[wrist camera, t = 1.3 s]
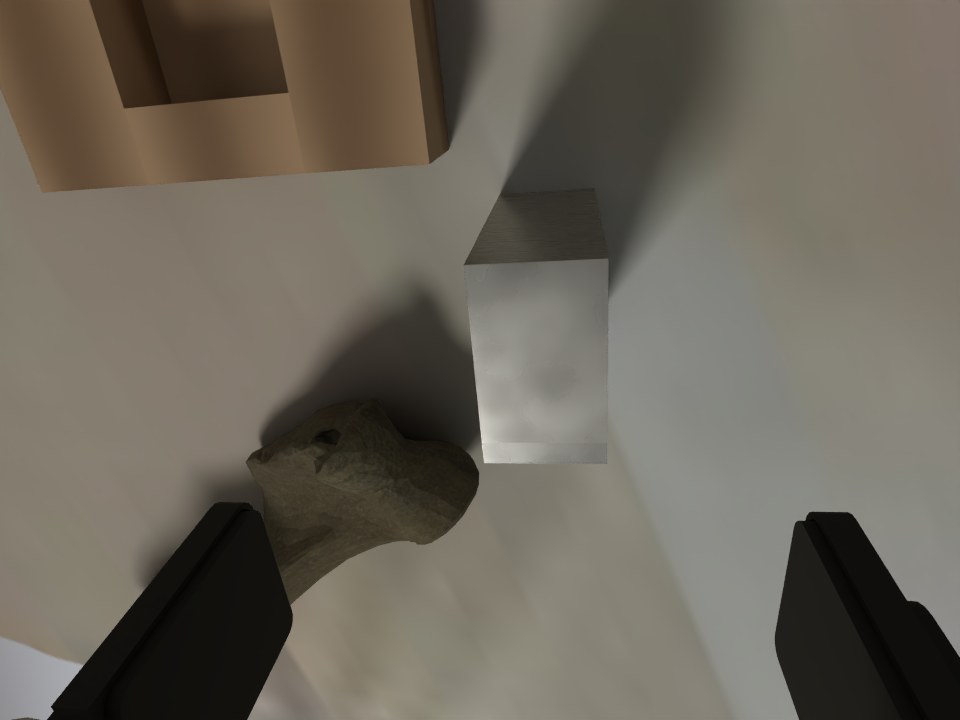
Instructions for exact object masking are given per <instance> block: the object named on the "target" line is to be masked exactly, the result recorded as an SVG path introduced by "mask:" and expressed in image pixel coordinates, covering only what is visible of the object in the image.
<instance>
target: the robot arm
mask: <svg viewBox="0 0 960 720" xmlns="http://www.w3.org/2000/svg"><path fill="white" fill-rule="evenodd" d="M292 621H293V614H292V610H291V606H290V603H289V600H288V597H287V594H286V591H285V588H284V585H283V581H282V578H281V575H280V572H279V569H278V566H277V563H276V560H275V556H274V553H273V550H272V547H271V544H270V541H269V538H268V535H267V532H266V528H265V525H264V522H263V519H262V516H261V514H260V513H259V512H258V511H254V509H253V507H252V506H251V505H250V504H249V503H233V502H219V503H216V504H214V505H213V506H212V507H211V508H210V509H209V511H208V512H207V513H206V514H205V516H204V517H203V518H202V519H201V521H200V522H199V523H198V524H197V526H196V527H195V528H194V529H193V531H192V532H191V533H190V534H189V536H188V537H187V538H186V539H185V541H184V542H183V543H182V544H181V546H180V547H179V548H178V549H177V551H176V552H175V553H174V554H173V555H172V557H171V558H170V559H169V560H168V562H167V563H166V564H165V565H164V567H163V568H162V569H161V570H160V572H159V573H158V574H157V575H156V577H155V578H154V579H153V580H152V582H151V583H150V584H149V585H148V587H147V588H146V589H145V590H144V592H143V593H142V594H141V595H140V597H139V598H138V599H137V600H136V601H135V603H134V604H133V605H132V606H131V608H130V609H129V610H128V611H127V613H126V614H125V615H124V616H123V618H122V619H121V620H120V621H119V623H118V624H117V625H116V626H115V628H114V629H113V630H112V631H111V633H110V634H109V635H108V636H107V638H106V639H105V640H104V641H103V643H102V644H101V645H100V646H99V648H98V649H97V650H96V651H95V652H94V654H93V655H92V656H91V657H90V659H89V660H88V661H87V662H86V664H85V665H84V666H83V667H82V669H81V670H80V671H79V673H78V674H77V675H76V676H75V677H74V679H73V680H72V681H71V682H70V684H69V685H68V686H67V687H66V689H65V690H64V691H63V692H62V694H61V695H60V696H59V697H58V698H57V700H56V701H55V702H54V703H53V705H52V706H51V708H52V709H53V711H54V712H53V713H52V714H51V715H50V717H49V718H48V719H47V720H247V719H248V717H249V715H250V713H251V711H252V709H253V707H254V705H255V703H256V700H257V698H258V696H259V694H260V692H261V690H262V688H263V686H264V684H265V682H266V680H267V678H268V676H269V674H270V672H271V670H272V668H273V666H274V664H275V662H276V660H277V658H278V656H279V654H280V651H281V649H282V647H283V645H284V643H285V641H286V639H287V637H288V635H289V633H290V630H291V627H292ZM775 647H776V653H777V657H778V660H779V663H780V666H781V669H782V672H783V675H784V677H785V680H786V683H787V686H788V689H789V692H790V695H791V697H792V700H793V703H794V706H795V709H796V712H797V715H798V717H799V720H960V657H959V656H958V654H957V653H956V651H955V650H954V648H953V647H952V645H951V643H950V642H949V640H948V639H947V637H946V636H945V634H944V633H943V631H942V630H941V628H940V627H939V625H938V624H937V622H936V621H935V619H934V618H933V616H932V615H931V614H930V612H929V611H928V610H927V609H926V608H925V607H924V606H923V605H921V604H920V603H918V602H915V601H907V600H906V598H905V597H904V595H903V594H902V592H901V590H900V589H899V587H898V586H897V584H896V582H895V581H894V579H893V578H892V576H891V574H890V573H889V571H888V570H887V568H886V566H885V565H884V563H883V562H882V560H881V558H880V557H879V555H878V554H877V552H876V551H875V549H874V547H873V546H872V544H871V543H870V541H869V539H868V538H867V536H866V535H865V533H864V531H863V530H862V528H861V527H860V525H859V523H858V522H857V520H856V519H855V518H854V516H853V515H852V514H850V513H848V512H809V514H808V515H807V517H806V521H797V522H796V523H795V526H794V531H793V537H792V542H791V548H790V553H789V559H788V565H787V570H786V576H785V581H784V587H783V593H782V598H781V604H780V610H779V615H778V621H777V626H776V632H775ZM13 720H38V719H33V718H20V719H13Z"/></svg>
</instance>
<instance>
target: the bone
mask: <svg viewBox="0 0 960 720" xmlns="http://www.w3.org/2000/svg"><path fill="white" fill-rule="evenodd" d="M246 464H247V466H248V468H249V469H250V471H251V473H252V475H253V477H254V478H255V480H256V481H257V483H258V484H259V485H260V487H261V489H262V491H263V496H264V525H265V528H266V532H267V535H268V538H269V541H270V544H271V547H272V550H273V553H274V556H275V560H276V563H277V566H278V569H279V572H280V575H281V578H282V581H283V585H284V588H285V591H286V594H287V597H288V600H289V603H290V605H291V604H292V603H293V602H294V601H295V600H296V599H297V598H298V597H300V596H301V595H302V594H303V593H304V592H305V591H307V590H308V589H309V588H310V587H311V586H312V585H313V584H315V583H316V582H317V581H318V580H319V579H320V578H322V577H323V576H324V575H326V574H327V573H329V572H330V571H332V570H333V569H334V568H336V567H337V566H339V565H340V564H341V563H343V562H344V561H346V560H347V559H349V558H351V557H353V556H355V555H357V554H360V553H362V552H364V551H367V550H369V549H371V548H374V547H376V546H378V545H383V544H387V543H391V542H395V541H410V542H416V544H424V545H425V544H428V543H432V542H433V541H435V540H437V539H438V538H440V537H441V536H443V535H444V534H446V533H447V532H448V531H449V530H450V529H451V528H452V527H453V526H454V525H455V524H456V523H457V522H458V521H459V520H460V519H461V518H462V516H463V515H464V513H465V512H466V510H467V508H468V507H469V505H470V503H471V501H472V500H473V498H474V496H475V495H476V492H477V488H478V485H479V471H478V469H477V467H476V465H475V463H474V461H473V459H472V458H471V456H470V455H469V454H468V453H467V452H466V451H464V450H463V449H462V448H460V447H458V446H455V445H453V444H450V443H447V442H444V441H437V440H428V441H414V440H408V439H405V438H404V437H403V436H402V435H401V434H400V433H399V432H398V431H397V430H396V428H395V427H394V425H393V424H392V422H391V421H390V419H389V418H388V417H387V415H386V414H385V413H384V411H383V408H382V405H381V403H380V401H379V400H378V399H370V400H368V401H366V402H365V403H364V404H361V403H358V402H352V401H349V402H344V403H340V404H336V405H332V406H329V407H326V408H324V409H321V410H318V411H317V412H316V413H315V414H314V415H312V416H311V417H310V418H309V419H308V420H307V421H306V422H305V423H304V424H302V425H301V426H299V427H297V428H296V429H294V430H293V431H291V432H290V433H288V434H286V435H283V436H282V437H280V438H278V439H277V440H275V441H274V442H272V443H271V444H269V445H267V446H265V447H263V448H261V449H259V450H257V451H255V452H253V453H252V454H251V455H250V457H249V458H248V459H247V461H246Z"/></svg>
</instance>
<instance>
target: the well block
mask: <svg viewBox="0 0 960 720" xmlns="http://www.w3.org/2000/svg"><path fill="white" fill-rule="evenodd" d="M0 88H1V91H2V93H3V96H4V98H5V101H6V103H7V106H8V108H9V111H10V113H11V116H12V118H13V121H14V123H15V126H16V128H17V131H18V133H19V136H20V138H21V141H22V143H23V146H24V148H25V151H26V153H27V156H28V158H29V161H30V163H31V166H32V168H33V171H34V173H35V176H36V178H37V181H38V183H39V186H40V188H41V191H42V193H43V192H56V191H70V190H84V189H97V188H111V187H124V186H138V185H152V184H165V183H179V182H192V181H206V180H220V179H233V178H247V177H260V176H274V175H288V174H301V173H315V172H329V171H342V170H356V169H369V168H383V167H397V166H410V165H424V164H430V163H431V162H433V161H434V160H436V159H437V158H438V157H440V156H441V155H442V154H444V153H445V152H446V151H448V150H449V146H448V137H447V127H446V118H445V108H444V99H443V89H442V79H441V70H440V60H439V51H438V41H437V32H436V22H435V13H434V3H433V0H0Z"/></svg>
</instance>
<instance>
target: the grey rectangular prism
mask: <svg viewBox="0 0 960 720" xmlns="http://www.w3.org/2000/svg"><path fill="white" fill-rule="evenodd" d="M608 271H609V258H608V253H607V248H606V244H605V239H604V234H603V229H602V224H601V220H600V215H599V210H598V205H597V200H596V195H595V191H594V189H581V190H566V191H550V192H534V193H519V194H503V195H499V197H498V199H497V201H496V203H495V205H494V207H493V209H492V211H491V213H490V215H489V217H488V218H487V220H486V222H485V224H484V226H483V228H482V230H481V232H480V234H479V236H478V238H477V240H476V242H475V244H474V246H473V248H472V250H471V252H470V254H469V256H468V258H467V260H466V262H465V264H464V273H465V283H466V293H467V303H468V312H469V322H470V332H471V341H472V351H473V361H474V371H475V380H476V390H477V400H478V410H479V419H480V429H481V439H482V449H483V458H484V463H557V464H607V407H608Z"/></svg>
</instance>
